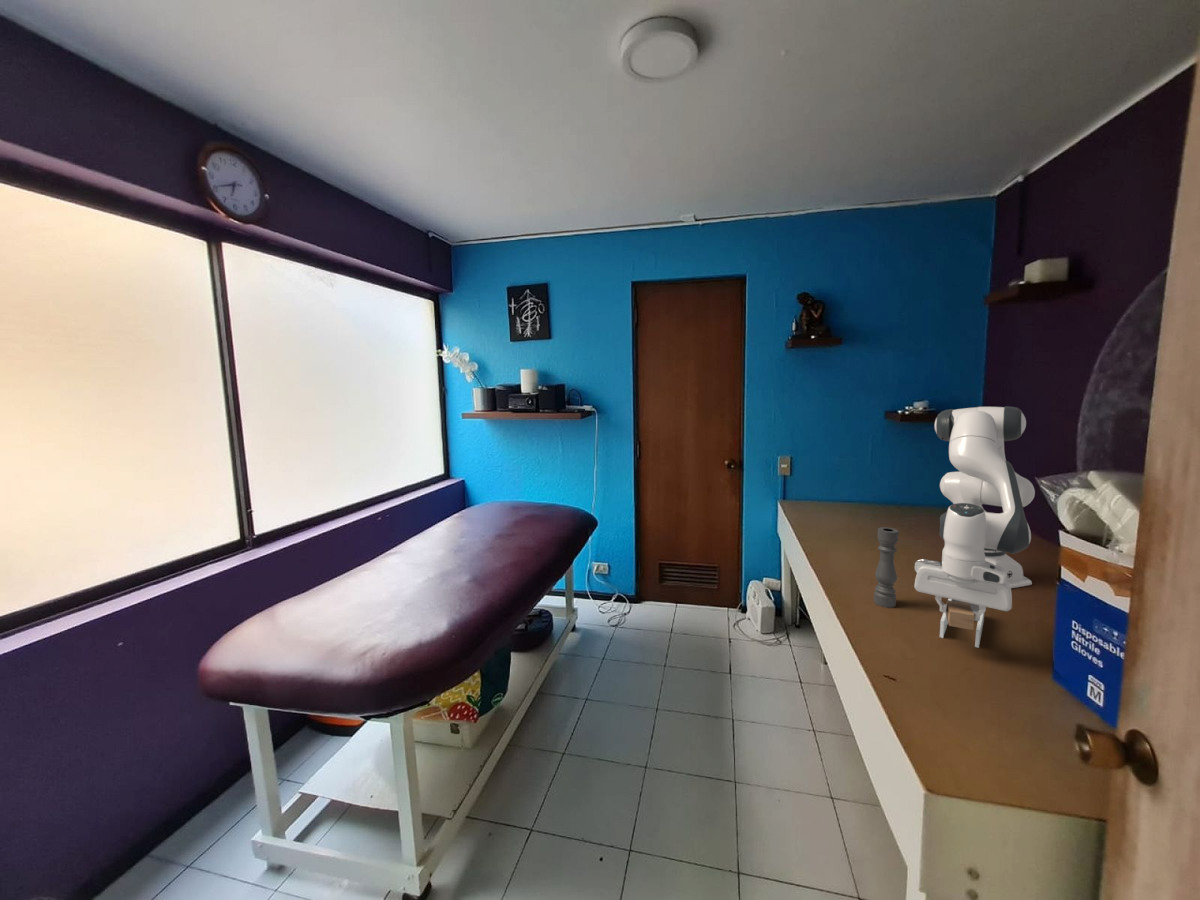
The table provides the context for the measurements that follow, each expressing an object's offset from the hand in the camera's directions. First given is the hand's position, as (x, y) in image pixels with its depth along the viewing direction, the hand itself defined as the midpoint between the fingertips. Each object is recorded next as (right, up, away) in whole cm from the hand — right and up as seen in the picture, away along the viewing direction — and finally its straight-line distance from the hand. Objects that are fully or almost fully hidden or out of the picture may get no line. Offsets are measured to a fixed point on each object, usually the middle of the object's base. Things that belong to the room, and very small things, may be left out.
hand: (959, 615), depth 122 cm
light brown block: (0, -2, 0) cm, 2 cm away
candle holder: (-2, -7, +29) cm, 30 cm away
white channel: (+11, -8, +12) cm, 18 cm away
